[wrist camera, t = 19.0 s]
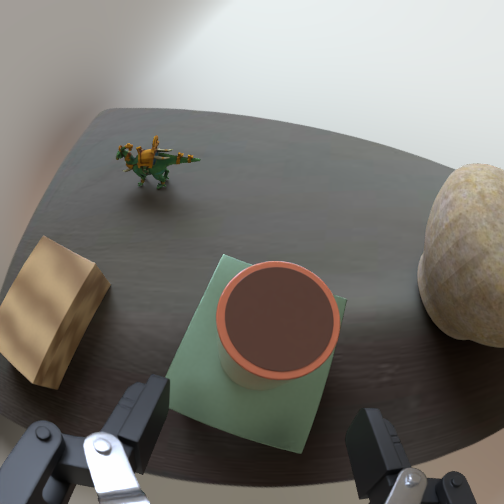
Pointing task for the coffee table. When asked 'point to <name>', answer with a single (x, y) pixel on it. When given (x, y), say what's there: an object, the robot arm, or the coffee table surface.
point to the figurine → (151, 161)
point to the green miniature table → (233, 395)
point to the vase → (466, 256)
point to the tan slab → (49, 311)
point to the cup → (275, 325)
